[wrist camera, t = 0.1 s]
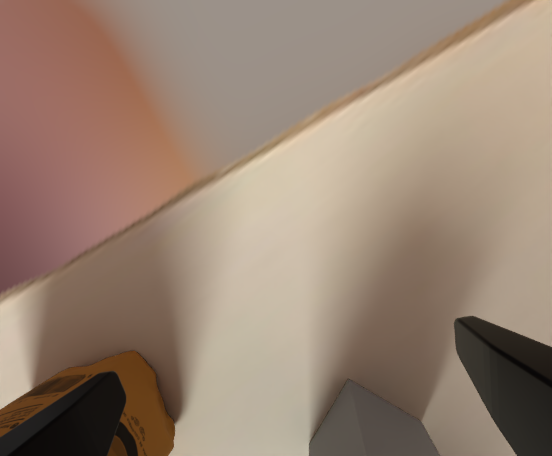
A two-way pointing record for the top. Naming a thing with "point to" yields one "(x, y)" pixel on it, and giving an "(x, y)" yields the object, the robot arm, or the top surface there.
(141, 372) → the coffee package
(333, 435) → the grey rectangular pillar
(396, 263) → the top surface
